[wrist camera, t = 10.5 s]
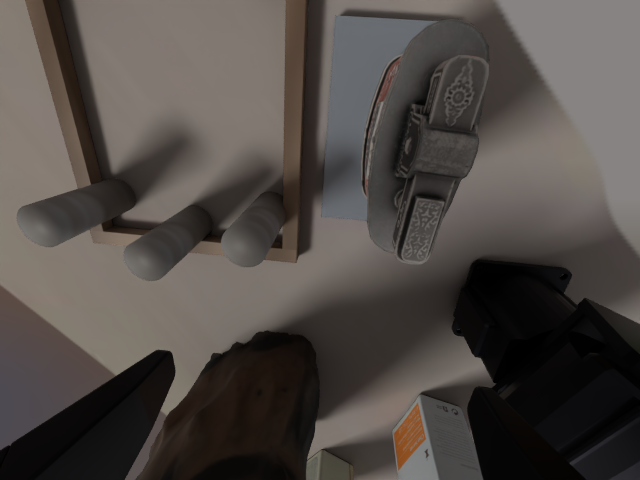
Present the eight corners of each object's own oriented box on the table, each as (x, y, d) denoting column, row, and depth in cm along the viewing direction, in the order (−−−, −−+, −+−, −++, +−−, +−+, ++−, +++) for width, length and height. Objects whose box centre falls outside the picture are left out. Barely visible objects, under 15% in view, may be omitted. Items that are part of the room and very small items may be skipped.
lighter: (378, 50, 16) (420, -21, 7) (442, 59, 16) (571, 0, 7) (351, 196, 19) (355, 280, 10) (404, 204, 19) (455, 295, 10)
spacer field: (313, -130, 14) (290, -286, 8) (298, 256, 22) (282, 306, 17) (4, -141, 14) (-206, -290, 9) (103, 237, 23) (26, 279, 17)
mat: (450, 25, 16) (454, 22, 15) (410, 221, 20) (411, 224, 20) (335, 18, 16) (335, 15, 15) (321, 213, 20) (321, 216, 20)
